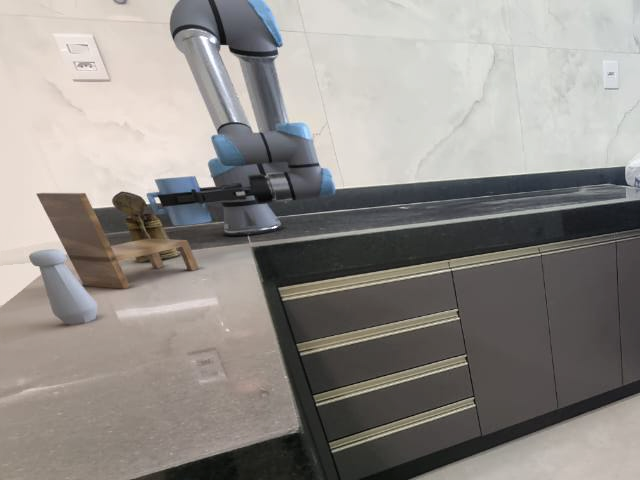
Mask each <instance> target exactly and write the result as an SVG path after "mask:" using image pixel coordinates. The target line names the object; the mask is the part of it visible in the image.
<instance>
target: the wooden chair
mask: <svg viewBox="0 0 640 480" xmlns="http://www.w3.org/2000/svg"><path fill="white" fill-rule="evenodd" d="M36 196H37V199H38V200H39V202H40V204H41V206H42V209H43V210H44V212H45V214H46V215H47V217H48V220H49V221H50V223H51V225H52V227H53V229H54V231H55V233H56V236H57V237H58V239H59V241H60V243H61V245H62V246H63V249H64V250H65V253H66V255H67V256H68V258H69V260H70V262H71V264H72V266H73V268H74V270H75V272H76V274H77V276H78V277H79V279H80V282H81V283H82V286H88V287H98V288H99V287H100V288H111V289H123V290H125V289H130V288H131V285H130V284H129V282H128V279H127V277H126V275H125V272H124V271H123V269H122V267H121V264H120V263H119V262H121V261H125V260H131V259H134V258H135V259H136V257H139V256H144V255H148V257H149V260H150V262H149V263H150V264H151V266H152V268H153V269H160V268H165V265H164V263H163V260H161V258H160V256H159V253H158V252H161V251H166V250H170V249H174V248H176V249H178V250H179V253H180V255H181V257H182V260H183V262H184V265H185V267H186V269H187V271H196V270H199V269H200V267H199V265H198V263H197V261H196V258H195V256H194V254H193V250H192V248H191V246H190V243H189V241H188V239H170V238H169V239H148V238H147V239H143V240H138V241H133V242H132V241H128V242H123V243H118V244H113V245H111V244H110V241H109V240H108V238H107V237H108V236H106V233H105V231H104V229H103V227H102V224H101V223H100V220H99V218H98V217H97V215H96V212H95V211H94V208H93V206H92V204H91V201H90V199H89V198H88V195H87V194H86V193H85V192H39V193H36Z"/></svg>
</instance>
